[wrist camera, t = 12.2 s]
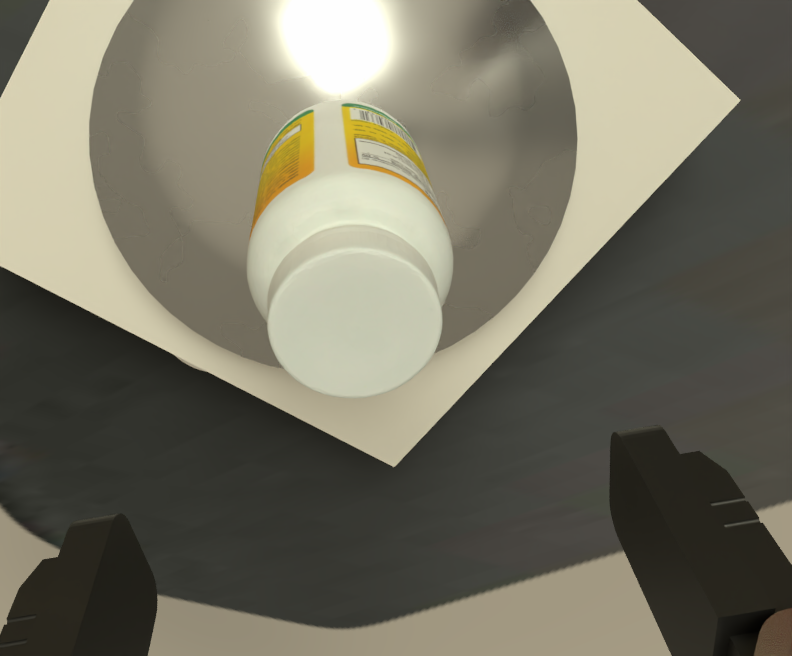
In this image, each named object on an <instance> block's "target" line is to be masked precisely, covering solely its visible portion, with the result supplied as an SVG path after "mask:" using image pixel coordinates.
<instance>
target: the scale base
mask: <svg viewBox="0 0 792 656" xmlns="http://www.w3.org/2000/svg"><path fill="white" fill-rule="evenodd" d="M133 1H134V0H50V1H49V3H48V5H47V7H46V9H45V11H44V13H43V15H42V17H41V19H40V21H39V23H38V25H37V27H36V29H35V31H34V33H33V35H32V37H31V39H30V41H29V43H28V45H27V46H26V48H25V50H24V52H23V54H22V56H21V58H20V60H19V62H18V64H17V66H16V68H15V70H14V72H13V74H12V76H11V78H10V80H9V82H8V84H7V86H6V88H5V90H4V92H3V94H2V96H1V98H0V266H2V267H4V268H6V269H8V270H9V271H11V272H13V273H15V274H17V275H19V276H21V277H23V278H25V279H27V280H29V281H31V282H33V283H35V284H37V285H39V286H41V287H43V288H45V289H47V290H49V291H51V292H52V293H54V294H56V295H58V296H60V297H62V298H64V299H66V300H68V301H70V302H72V303H74V304H76V305H78V306H80V307H82V308H84V309H86V310H88V311H90V312H92V313H94V314H96V315H97V316H99V317H101V318H103V319H105V320H107V321H109V322H111V323H113V324H115V325H117V326H119V327H121V328H123V329H125V330H127V331H129V332H131V333H133V334H135V335H137V336H139V337H140V338H142V339H144V340H146V341H148V342H150V343H152V344H154V345H156V346H158V347H160V348H162V349H164V350H166V351H168V352H170V353H172V354H173V355H175V356H176V357H177V358H178V359H180V360H181V361H182V362H184V363H185V364H187V365H189V366H191V367H193V368H196V369H198V370H202V371H206V372H209V373H211V374H213V375H215V376H217V377H219V378H221V379H223V380H225V381H227V382H228V383H230V384H232V385H234V386H236V387H238V388H240V389H242V390H244V391H246V392H248V393H250V394H252V395H254V396H256V397H258V398H260V399H262V400H264V401H266V402H268V403H270V404H272V405H273V406H275V407H277V408H279V409H281V410H283V411H285V412H287V413H289V414H291V415H293V416H295V417H297V418H299V419H301V420H303V421H305V422H307V423H309V424H311V425H313V426H315V427H316V428H318V429H320V430H322V431H324V432H326V433H328V434H330V435H332V436H334V437H336V438H338V439H340V440H342V441H344V442H346V443H348V444H350V445H352V446H354V447H356V448H358V449H359V450H361V451H363V452H365V453H367V454H369V455H371V456H373V457H375V458H377V459H379V460H381V461H383V462H385V463H387V464H389V465H391V466H393V467H395V466H396V465H397V464H398V463H399V462H400V461H401V459H402V458H403V457H404V456H405V455H406V454H407V453H408V452H409V451H410V450H411V449H412V448H413V447H414V446H415V445H416V444H417V443H418V441H419V440H420V439H421V438H422V437H423V436H424V435H425V434H426V433H427V432H428V431H429V430H430V429H431V428H432V427H433V426H434V424H435V423H436V422H437V421H438V420H439V419H440V418H441V417H442V416H443V415H444V414H445V413H446V412H447V411H448V410H449V409H450V408H451V406H452V405H453V404H454V403H455V402H456V401H457V400H458V399H459V398H460V397H461V396H462V395H463V394H464V393H465V392H466V391H467V390H468V388H469V387H470V386H471V385H472V384H473V383H474V382H475V381H476V380H477V379H478V378H479V377H480V376H481V375H482V374H483V373H484V372H485V370H486V369H487V368H488V367H489V366H490V365H491V364H492V363H493V362H494V361H495V360H496V359H497V358H498V357H499V356H500V355H501V354H502V352H503V351H504V350H505V349H506V348H507V347H508V346H509V345H510V344H511V343H512V342H513V341H514V340H515V339H516V338H517V337H518V336H519V334H520V333H521V332H522V331H523V330H524V329H525V328H526V327H527V326H528V325H529V324H530V323H531V322H532V321H533V320H534V319H535V318H536V316H537V315H538V314H539V313H540V312H541V311H542V310H543V309H544V308H545V307H546V306H547V305H548V304H549V303H550V302H551V301H552V300H553V298H554V297H555V296H556V295H557V294H558V293H559V292H560V291H561V290H562V289H563V288H564V287H565V286H566V285H567V284H568V283H569V282H570V280H571V279H572V278H573V277H574V276H575V275H576V274H577V273H578V272H579V271H580V270H581V269H582V268H583V267H584V266H585V265H586V263H587V262H588V261H589V260H590V259H591V258H592V257H593V256H594V255H595V254H596V253H597V252H598V251H599V250H600V249H601V248H602V247H603V245H604V244H605V243H606V242H607V241H608V240H609V239H610V238H611V237H612V236H613V235H614V234H615V233H616V232H617V231H618V230H619V229H620V227H621V226H622V225H623V224H624V223H625V222H626V221H627V220H628V219H629V218H630V217H631V216H632V215H633V214H634V213H635V212H636V211H637V209H638V208H639V207H640V206H641V205H642V204H643V203H644V202H645V201H646V200H647V199H648V198H649V197H650V196H651V195H652V194H653V193H654V191H655V190H656V189H657V188H658V187H659V186H660V185H661V184H662V183H663V182H664V181H665V180H666V179H667V178H668V177H669V176H670V175H671V173H672V172H673V171H674V170H675V169H676V168H677V167H678V166H679V165H680V164H681V163H682V162H683V161H684V160H685V159H686V158H687V157H688V155H689V154H690V153H691V152H692V151H693V150H694V149H695V148H696V147H697V146H698V145H699V144H700V143H701V142H702V141H703V140H704V139H705V137H706V136H707V135H708V134H709V133H710V132H711V131H712V130H713V129H714V128H715V127H716V126H717V125H718V124H719V123H720V122H721V121H722V119H723V118H724V117H725V116H726V115H727V114H728V113H729V112H730V111H731V110H732V109H733V108H734V107H735V106H736V105H737V104H738V102H739V101H740V99H739V98H738V97H737V96H736V95H735V94H734V93H733V92H731V91H730V90H729V89H728V88H727V87H726V86H725V85H724V84H723V83H722V82H721V81H720V80H719V79H718V78H717V77H716V76H715V75H714V74H713V73H712V72H711V71H710V70H709V69H708V68H707V67H706V66H705V65H704V64H703V63H701V62H700V61H699V60H698V59H697V58H696V57H695V56H694V55H693V54H692V53H691V52H690V51H689V50H688V49H687V48H686V47H685V46H684V45H683V44H682V43H681V42H680V41H679V40H678V39H677V38H676V37H675V36H674V35H673V34H671V33H670V32H669V31H668V30H667V29H666V28H665V27H664V26H663V25H662V24H661V23H660V22H659V21H658V20H657V19H656V18H655V17H654V16H653V15H652V14H651V13H650V12H649V11H648V10H647V9H646V8H645V7H644V6H643V5H641V4H640V3H639V2H638V1H637V0H531V2H532V3H533V5H534V6H535V7H536V9H537V10H538V12H539V13H540V14H541V16H542V17H543V19H544V21H545V23H546V25H547V27H548V28H549V30H550V32H551V34H552V36H553V38H554V40H555V42H556V44H557V46H558V48H559V51H560V53H561V56H562V59H563V62H564V65H565V67H566V70H567V73H568V76H569V80H570V84H571V89H572V94H573V99H574V104H575V109H576V123H577V137H578V140H577V156H576V170H575V175H574V180H573V185H572V190H571V195H570V199H569V202H568V205H567V208H566V211H565V214H564V217H563V220H562V224H561V226H560V228H559V230H558V232H557V234H556V237H555V239H554V241H553V243H552V245H551V247H550V249H549V251H548V253H547V254H546V256H545V257H544V259H543V261H542V262H541V264H540V265H539V267H538V268H537V270H536V272H535V273H534V275H533V276H532V277H531V278H530V280H529V281H528V282H527V283H526V284H525V286H524V287H523V288H522V289H521V291H520V292H519V293H518V294H517V295H516V296H515V297H514V298H513V299H512V300H511V301H510V302H509V303H508V304H507V305H506V306H505V307H504V308H503V309H502V310H501V311H500V312H499V313H498V314H497V315H496V316H494V317H493V318H492V319H491V320H489V321H488V322H487V323H485V324H484V325H483V326H481V327H480V328H479V329H478V330H476V331H475V332H473V333H472V334H470V335H468V336H467V337H465V338H463V339H462V340H460V341H458V342H457V343H455V344H453V345H452V346H450V347H447V348H445V349H443V350H441V351H439V352H437V353H434V354H433V356H432V358H431V359H430V361H429V362H428V363H427V365H426V366H425V367H424V368H423V369H422V370H421V371H420V372H419V373H418V374H417V375H415V376H414V377H413V378H412V379H411V380H409V381H408V382H407V383H405V384H403V385H402V386H400V387H398V388H396V389H394V390H392V391H389V392H387V393H384V394H380V395H377V396H372V397H367V398H356V399H354V398H339V397H332V396H329V395H325V394H322V393H319V392H316V391H314V390H312V389H310V388H308V387H306V386H304V385H302V384H301V383H299V382H298V381H297V380H295V379H294V378H293V377H292V376H291V375H290V374H289V373H288V372H287V371H286V370H285V369H282V368H277V367H273V366H268V365H265V364H262V363H259V362H256V361H253V360H250V359H247V358H244V357H241V356H239V355H237V354H235V353H233V352H231V351H228V350H226V349H224V348H222V347H220V346H218V345H216V344H214V343H212V342H211V341H209V340H207V339H206V338H204V337H202V336H201V335H199V334H198V333H196V332H194V331H193V330H191V329H190V328H189V327H187V326H186V325H185V324H184V323H182V322H181V321H180V320H178V319H177V318H176V317H175V316H173V315H172V314H171V313H170V312H169V311H167V310H166V309H165V308H164V307H163V306H162V305H161V304H160V303H159V302H158V301H157V300H156V299H155V298H154V297H153V296H152V295H151V294H150V293H149V292H148V290H147V289H146V288H145V287H144V285H143V284H142V283H141V282H140V280H139V279H138V278H137V276H136V275H135V274H134V273H133V271H132V270H131V269H130V267H129V265H128V264H127V262H126V261H125V259H124V257H123V256H122V254H121V252H120V251H119V249H118V247H117V246H116V244H115V242H114V240H113V237H112V235H111V233H110V231H109V228H108V226H107V224H106V222H105V219H104V217H103V214H102V211H101V208H100V204H99V201H98V197H97V194H96V191H95V187H94V182H93V175H92V168H91V162H90V155H89V119H90V112H91V104H92V97H93V90H94V86H95V83H96V79H97V76H98V72H99V69H100V65H101V62H102V58H103V56H104V53H105V51H106V49H107V47H108V45H109V42H110V40H111V38H112V36H113V34H114V31H115V29H116V27H117V25H118V24H119V22H120V20H121V19H122V17H123V16H124V14H125V13H126V11H127V10H128V8H129V7H130V5H131V4H132V2H133Z"/></svg>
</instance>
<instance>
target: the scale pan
mask: <svg viewBox="0 0 792 656" xmlns="http://www.w3.org/2000/svg"><path fill="white" fill-rule="evenodd" d="M335 100H350V101H358V102H363V103H366V104H370V105H372V106H375V107H377V108H379V109H381V110H383V111H385V112H386V113H388V114H389V115H391V116H392V117H393V118H395V119H396V120H397V121H398V122H399V123H400V124H401V125H402V126H403V127H404V128H405V129H406V130H407V131H408V133H409V134H410V136H411V137H412V139H413V140H414V142H415V144H416V146H417V148H418V150H419V153H420V155H421V158H422V160H423V163H424V166H425V169H426V172H427V174H428V177H429V180H430V182H431V185H432V188H433V191H434V194H435V196H436V199H437V202H438V204H439V207H440V210H441V213H442V216H443V218H444V221H445V224H446V227H447V230H448V233H449V236H450V240H451V245H452V251H453V275H452V281H451V286H450V289H449V292H448V295H447V298H446V300H445V302H444V304H443V306H442V332H441V336H440V340H439V343H438V345H437V348H436V350H435V352H434V353H437V352H439V351H441V350H443V349H445V348H447V347H450V346H452V345H453V344H455V343H457V342H458V341H460V340H462V339H463V338H465V337H467V336H468V335H470V334H472V333H473V332H475V331H476V330H478V329H479V328H480V327H481V326H483V325H484V324H485V323H487V322H488V321H489V320H491V319H492V318H493V317H494V316H496V315H497V314H498V313H499V312H500V311H501V310H502V309H503V308H504V307H505V306H506V305H507V304H508V303H509V302H510V301H511V300H512V299H513V298H514V297H515V296H516V295H517V294H518V293H519V292H520V291H521V289H522V288H523V287H524V286H525V284H526V283H527V282H528V281H529V280H530V278H531V277H532V276H533V275H534V273H535V272H536V270H537V268H538V267H539V265H540V264H541V262H542V261H543V259H544V257H545V256H546V254H547V253H548V251H549V249H550V247H551V245H552V243H553V241H554V239H555V237H556V234H557V232H558V230H559V228H560V226H561V224H562V220H563V217H564V214H565V211H566V208H567V205H568V202H569V199H570V195H571V190H572V185H573V180H574V175H575V170H576V156H577V140H578V137H577V123H576V109H575V104H574V99H573V94H572V89H571V84H570V80H569V76H568V73H567V70H566V67H565V65H564V62H563V59H562V56H561V53H560V51H559V48H558V46H557V44H556V42H555V40H554V38H553V36H552V34H551V32H550V30H549V28H548V27H547V25H546V23H545V21H544V19H543V17H542V16H541V14H540V13H539V12H538V10H537V9H536V7H535V6H534V5H533V3H532V2H531V0H134V1H133V2H132V4H131V5H130V7H129V8H128V10H127V11H126V13H125V14H124V16H123V17H122V19H121V20H120V22H119V24H118V25H117V27H116V29H115V31H114V34H113V36H112V38H111V40H110V42H109V45H108V47H107V49H106V51H105V53H104V56H103V58H102V62H101V65H100V69H99V72H98V76H97V79H96V83H95V86H94V90H93V97H92V104H91V112H90V119H89V155H90V162H91V168H92V175H93V182H94V187H95V191H96V194H97V197H98V201H99V204H100V208H101V211H102V214H103V217H104V219H105V222H106V224H107V226H108V228H109V231H110V233H111V235H112V237H113V240H114V242H115V244H116V246H117V247H118V249H119V251H120V252H121V254H122V256H123V257H124V259H125V261H126V262H127V264H128V265H129V267H130V269H131V270H132V271H133V273H134V274H135V275H136V276H137V278H138V279H139V280H140V282H141V283H142V284H143V285H144V287H145V288H146V289H147V290H148V292H149V293H150V294H151V295H152V296H153V297H154V298H155V299H156V300H157V301H158V302H159V303H160V304H161V305H162V306H163V307H164V308H165V309H166V310H167V311H169V312H170V313H171V314H172V315H173V316H175V317H176V318H177V319H178V320H180V321H181V322H182V323H184V324H185V325H186V326H187V327H189V328H190V329H191V330H193V331H194V332H196V333H198V334H199V335H201V336H202V337H204V338H206V339H207V340H209V341H211V342H212V343H214V344H216V345H218V346H220V347H222V348H224V349H226V350H228V351H231V352H233V353H235V354H237V355H239V356H241V357H244V358H247V359H250V360H253V361H256V362H259V363H262V364H265V365H268V366H273V367H277V368H282V369H284V368H283V366H282V365H281V364H280V363H279V361H278V360H277V358H276V356H275V354H274V352H273V350H272V347H271V344H270V341H269V336H268V329H267V322H266V321H265V319H264V318H263V317H262V315H261V314H260V312H259V310H258V308H257V307H256V305H255V302H254V300H253V298H252V295H251V292H250V289H249V284H248V279H247V251H248V244H249V238H250V232H251V228H252V222H253V216H254V211H255V205H256V199H257V193H258V187H259V181H260V173H261V169H262V164H263V160H264V157H265V154H266V152H267V149H268V147H269V145H270V143H271V142H272V140H273V138H274V137H275V135H276V134H277V133H278V131H279V130H280V129H281V128H282V127H283V126H284V125H285V124H286V123H287V122H288V121H289V120H290V119H291V118H292V117H293V116H294V115H296V114H297V113H299V112H300V111H302V110H304V109H306V108H308V107H311V106H313V105H316V104H319V103H323V102H327V101H335Z"/></svg>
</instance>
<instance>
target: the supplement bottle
mask: <svg viewBox="0 0 792 656" xmlns="http://www.w3.org/2000/svg"><path fill="white" fill-rule="evenodd" d="M452 275H453V251H452V245H451V240H450V236H449V233H448V230H447V227H446V224H445V221H444V218H443V216H442V213H441V210H440V207H439V204H438V202H437V199H436V196H435V194H434V191H433V188H432V185H431V182H430V180H429V177H428V174H427V172H426V169H425V166H424V163H423V160H422V158H421V155H420V153H419V150H418V148H417V146H416V144H415V142H414V140H413V139H412V137H411V136H410V134H409V133H408V131H407V130H406V129H405V128H404V127H403V126H402V125H401V124H400V123H399V122H398V121H397V120H396V119H395V118H393V117H392V116H391V115H389V114H388V113H386V112H385V111H383V110H381V109H379V108H377V107H375V106H372V105H370V104H366V103H363V102H358V101H350V100H335V101H327V102H323V103H319V104H316V105H313V106H311V107H308V108H306V109H304V110H302V111H300V112H299V113H297V114H296V115H294V116H293V117H292V118H291V119H290V120H289V121H288V122H287V123H286V124H285V125H284V126H283V127H282V128H281V129H280V130H279V131H278V133H277V134H276V135H275V137H274V138H273V140H272V142H271V143H270V145H269V147H268V149H267V152H266V154H265V157H264V160H263V164H262V169H261V173H260V181H259V187H258V193H257V199H256V205H255V211H254V216H253V222H252V228H251V232H250V238H249V244H248V251H247V279H248V284H249V289H250V292H251V295H252V298H253V300H254V302H255V305H256V307H257V308H258V310H259V312H260V314H261V315H262V317H263V318H264V319H265V321H266V322H267V329H268V336H269V341H270V344H271V347H272V350H273V352H274V354H275V356H276V358H277V360H278V361H279V363H280V364H281V365H282V366H283V368H284V369H285V370H286V371H287V372H288V373H289V374H290V375H291V376H292V377H293V378H294V379H295V380H297V381H298V382H299V383H301V384H302V385H304V386H306V387H308V388H310V389H312V390H314V391H316V392H319V393H322V394H325V395H329V396H332V397H339V398H354V399H356V398H367V397H372V396H377V395H380V394H384V393H387V392H389V391H392V390H394V389H396V388H398V387H400V386H402V385H403V384H405V383H407V382H408V381H409V380H411V379H412V378H413V377H414V376H415V375H417V374H418V373H419V372H420V371H421V370H422V369H423V368H424V367H425V366H426V365H427V363H428V362H429V361H430V359H431V358H432V356H433V354H434V352H435V350H436V348H437V345H438V343H439V340H440V336H441V332H442V306H443V304H444V302H445V300H446V298H447V295H448V292H449V289H450V286H451V281H452Z"/></svg>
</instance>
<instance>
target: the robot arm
mask: <svg viewBox="0 0 792 656" xmlns="http://www.w3.org/2000/svg"><path fill="white" fill-rule="evenodd" d="M610 510H611V515H612V520H613V524H614V527H615V530H616V533H617V536H618V538H619V541H620V543H621V545H622V547H623V549H624V552H625V554H626V556H627V558H628V560H629V562H630V565H631V567H632V569H633V571H634V574H635V576H636V578H637V580H638V582H639V584H640V587H641V589H642V591H643V594H644V596H645V598H646V600H647V602H648V604H649V607H650V609H651V611H652V613H653V615H654V618H655V620H656V622H657V624H658V627H659V629H660V631H661V633H662V635H663V638H664V640H665V642H666V644H667V646H668V648H669V651H670V652H671V655H672V656H792V565H791V563H790V562H789V561H788V559H787V558H786V556H785V555H784V553H783V552H782V550H781V549H780V547H779V546H778V545H777V543H776V542H775V540H774V539H773V537H772V536H771V534H770V533H769V531H768V530H767V528H766V527H765V526H764V524H763V523H760V521H759V517H758V515H757V514H756V512H755V511H754V509H753V508H752V507H751V505H750V504H749V502H746V501H745V496H744V495H743V493H742V492H741V491H740V489H739V488H738V486H737V485H736V483H735V482H734V480H733V479H732V477H731V476H730V474H729V473H728V472H727V471H726V470H725V469H724V468H722V467H721V466H719V465H718V464H717V463H715V462H714V461H712V460H711V459H710V458H708V457H707V456H705V455H704V454H703V453H701V452H700V451H696V452H691V453H685V454H679V452H678V451H677V449H676V448H675V446H674V444H673V443H672V441H671V440H670V438H669V436H668V435H667V433H666V432H665V430H664V429H663V428H662V427H661V426H660V425H655V426H649V427H643V428H637V429H631V430H625V431H619V432H614V433H613V434H612V436H611V445H610ZM156 613H157V589H156V583H155V579H154V576H153V573H152V571H151V569H150V566H149V564H148V562H147V560H146V558H145V556H144V553H143V551H142V549H141V547H140V545H139V542H138V540H137V538H136V536H135V534H134V532H133V529H132V527H131V525H130V523H129V521H128V519H127V518H126V516H125V515H123V514H114V515H108V516H102V517H96V518H90V519H84V520H79V521H75V522H73V523H72V524H71V525H70V527H69V529H68V531H67V534H66V537H65V539H64V542H63V545H62V547H61V550H60V553H59V555H58V557H56V558H49V559H44V560H42V561H41V563H40V564H39V565H38V566H37V568H36V569H35V570H34V571H33V572H32V573H31V575H30V576H29V577H28V578H27V579H26V581H25V582H24V583H23V584H22V585H21V587H20V588H19V590H18V593H17V595H16V597H15V600H14V602H13V605H12V607H11V610H10V612H9V615H8V617H7V625H4V627H3V629H2V632H1V634H0V656H148V651H149V646H150V641H151V637H152V632H153V627H154V622H155V618H156Z"/></svg>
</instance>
